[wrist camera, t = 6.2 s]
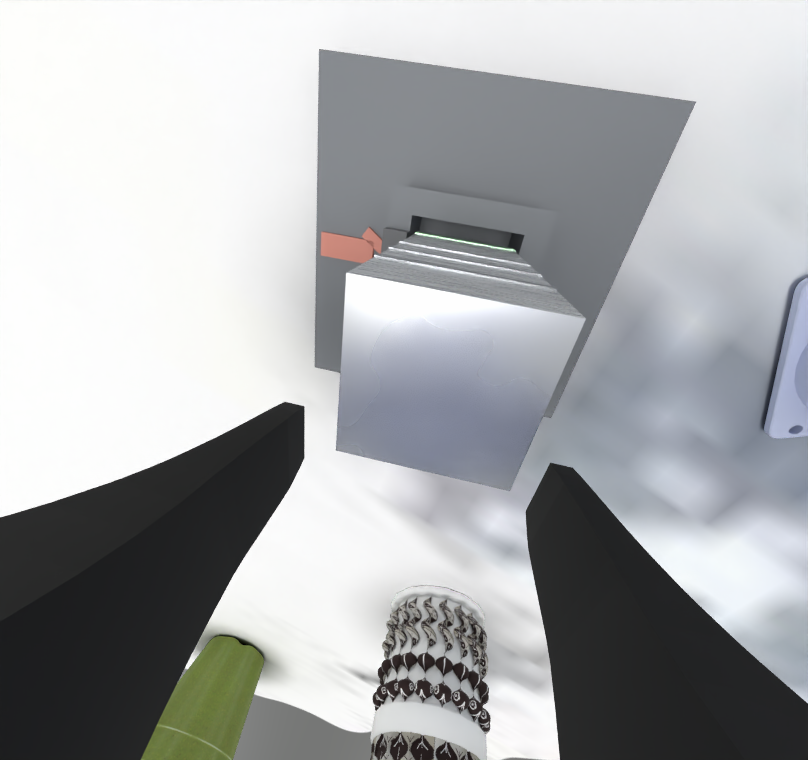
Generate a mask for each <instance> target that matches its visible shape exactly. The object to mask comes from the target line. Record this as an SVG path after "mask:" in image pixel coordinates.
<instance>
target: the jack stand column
mask: <svg viewBox="0 0 808 760" xmlns="http://www.w3.org/2000/svg"><path fill="white" fill-rule="evenodd" d="M515 251H516V250H514V249H513V248H509V247H504V246H498V245H493V244H487V243H481V242H476V241H470V240H465V239H459V238H453V237H448V236H442V235H437V234H431V233H425V232H420V231H417V232H415V234H414V235H412V236H410V237H408V238H407V239H405V240H403V241H400V242H399V243H398V244H396V245H394V246H390V247H389V249H387V250H386V251H384V252H382V253H380V254H375V255H374V257H373V258H371V259H370V260H368V261H366V262H364V263H363V264H361V265H359V266H357V267H356V268H354V269H352V270H350V271H349V272H347V273H346V287H345V304H344V321H343V338H342V355H341V372H340V389H339V406H338V423H337V441H336V451H341V452H345V453H349V454H353V455H358V456H362V457H366V458H371V459H375V460H379V461H383V462H388V463H392V464H396V465H401V466H405V467H409V468H413V469H418V470H422V471H426V472H430V473H435V474H439V475H443V476H448V477H452V478H456V479H460V480H465V481H469V482H473V483H478V484H482V485H486V486H490V487H495V488H499V489H503V490H508V491H510V489H511V487H512V485H513V483H514V480H515V478H516V476H517V474H518V471H519V469H520V467H521V465H522V462H523V460H524V458H525V456H526V453H527V451H528V449H529V447H530V444H531V442H532V440H533V437H534V435H535V433H536V431H537V428H538V426H539V424H540V422H541V419H542V417H543V415H544V413H545V410H546V408H547V406H548V404H549V401H550V399H551V397H552V394H553V392H554V390H555V388H556V385H557V383H558V381H559V379H560V376H561V374H562V372H563V370H564V367H565V365H566V363H567V361H568V358H569V356H570V354H571V352H572V349H573V347H574V345H575V342H576V340H577V338H578V336H579V333H580V331H581V329H582V327H583V324H584V322H585V320H586V318H585V317H584V316H583V315H582V314H581V313H580V312H578V311H577V310H576V309H575V308H574V307H573V306H572V305H571V304H570V303H569V302H568V301H567V300H566V299H565V298H564V297H563V296H562V295H561V294H559V293H558V292H557V288H556V287H553V286H551V285H550V284H549V283H548V282H547V281H546V280H545V279H544V278H543V277H542V274H541V273H537V272H536V271H535V270H534V269H533V268H532V267H531V264H528V263H527V262H526V261H525V260H524V259H522V258H521V257H520V256H519V255H518V254H517V253H516V252H515Z"/></svg>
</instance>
